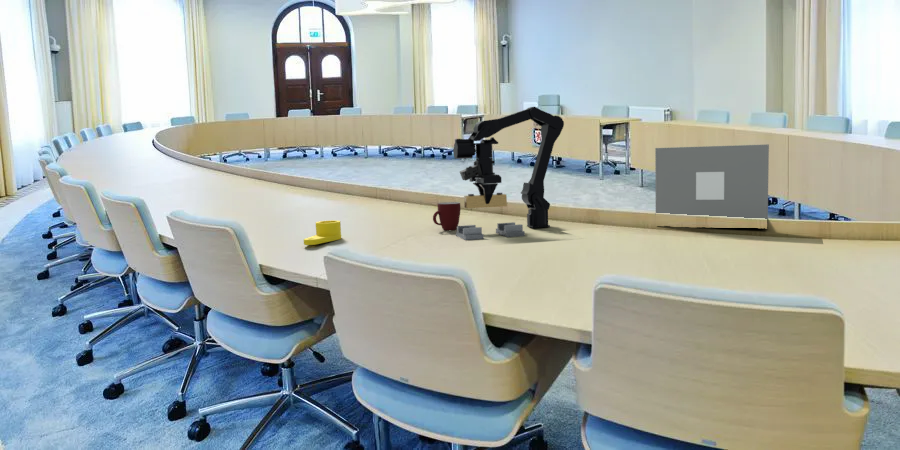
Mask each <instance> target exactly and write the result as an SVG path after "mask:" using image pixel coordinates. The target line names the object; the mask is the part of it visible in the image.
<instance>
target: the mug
mask: <svg viewBox="0 0 900 450" xmlns="http://www.w3.org/2000/svg"><path fill="white" fill-rule="evenodd" d="M460 215H461V202H459V201H458V202H457V201H456V202H455V201H449V202H439V203H437V211H435V212H434V214H433V216H432V221H433V223H434V224H435V225H436V226H441V228H442V230H443V231H447V230H448V231H449V230H451V231H455V230H456V231H457V226H459V224H460V218H461V217H460ZM437 216H438V218H439V222H438V221H437Z"/></svg>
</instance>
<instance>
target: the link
mask: <svg viewBox="0 0 900 450" xmlns="http://www.w3.org/2000/svg"><path fill="white" fill-rule="evenodd" d="M463 198H464V208H465V209H477V208H479V209H480V208H482V209H483V208H497V207H507V206H508V205H507V204H508V202H507V199H508V197H507V194H505V193H503V192H496V193H495V194H494V193H493V195H492V198H491V200H490V203H489V204H486V202H485V197H484V195H480V194H477V195H475V194H474V193H468V194H467V195H464V196H463Z"/></svg>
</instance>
